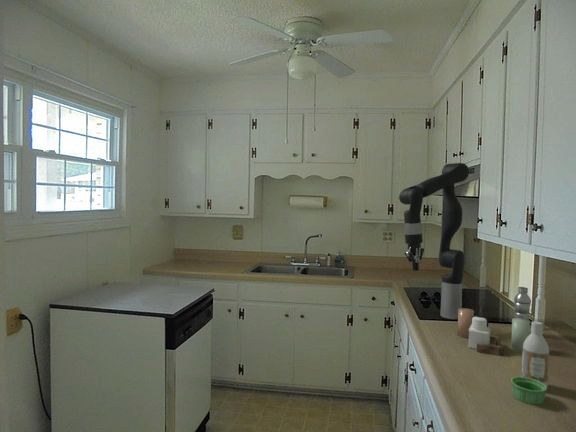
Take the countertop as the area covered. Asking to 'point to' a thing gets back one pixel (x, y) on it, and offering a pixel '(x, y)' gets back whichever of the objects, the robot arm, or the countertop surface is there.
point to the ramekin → (528, 390)
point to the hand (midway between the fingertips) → (416, 270)
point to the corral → (491, 346)
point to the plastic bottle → (522, 303)
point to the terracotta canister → (464, 321)
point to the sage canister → (519, 333)
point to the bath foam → (536, 355)
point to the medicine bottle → (478, 331)
